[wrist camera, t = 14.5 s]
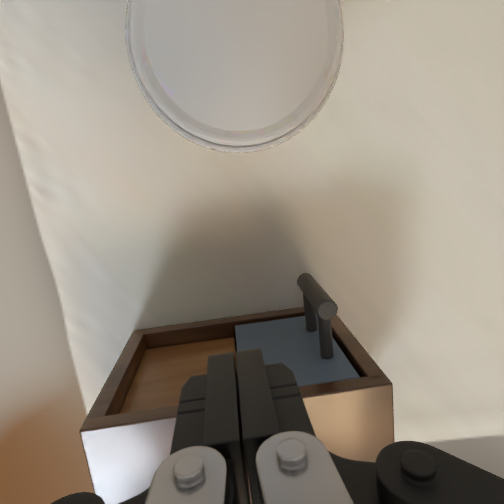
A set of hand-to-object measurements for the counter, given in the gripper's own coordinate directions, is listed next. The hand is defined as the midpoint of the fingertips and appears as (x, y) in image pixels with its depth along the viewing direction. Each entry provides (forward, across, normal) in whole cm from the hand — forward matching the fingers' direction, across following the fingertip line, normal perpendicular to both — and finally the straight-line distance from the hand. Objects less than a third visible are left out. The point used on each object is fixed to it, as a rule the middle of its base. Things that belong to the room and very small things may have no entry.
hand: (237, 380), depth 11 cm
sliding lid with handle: (+18, -3, +5) cm, 19 cm away
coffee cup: (+20, -2, -11) cm, 22 cm away
